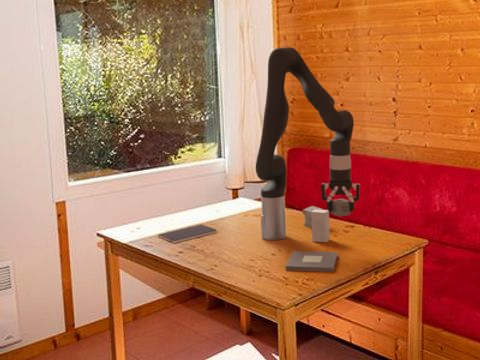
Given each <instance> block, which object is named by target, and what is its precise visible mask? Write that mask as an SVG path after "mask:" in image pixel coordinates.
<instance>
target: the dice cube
mask: <svg viewBox="0 0 480 360" xmlns="http://www.w3.org/2000/svg"><path fill="white" fill-rule="evenodd" d="M330 214H331V215H333V216H336V217H343V216H345V217H346V216H350V215H351V212H350V200H349V199H345V198H337V199H331V212H330Z"/></svg>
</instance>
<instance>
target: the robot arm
mask: <svg viewBox="0 0 480 360" xmlns="http://www.w3.org/2000/svg"><path fill="white" fill-rule="evenodd" d="M287 73H289V74H291V75H292V76H294V77H295V79H297V80H298V82H299V83H300V85H301V87H302V88H301V89H302V90H303V94H304V95H305V98H306V99H307V101H308V103H310V104H311V105H312V107H313V108H314V109H315V110H316V111H317V112H318V115H319V117H320V118H321V120H322V123H323V124H324V126H325V127H327V129H328V130H330V132H334V137H332V138H331V140H330V141H329V142H330V143H329V152H330V155H329V183H325V182H322V183H321V185H320V187H321V188H320V192H321V200H322V201H325V202H326V210H329V213H331V200H333V198H334V196H339V195H341V196H345V195H346V197H347V198H348V200H349V201H350V213H353V211H354V210H355V202H359V200H360V194H361V193H360V192H361V191H360V190H361V184H360V183H359V182H358V183H353V182H352V158H351V140H352V136H353V131H354V126H355V125H354V118H353V117H354V116H353V115H352V113H351V112H350V111H349V110H345V109H342V110H337V109H336V108H335V102H336V101H335V99H334V98H333V97H332V95H331V94H330V93H329V92H328V91H327V90H326V89H325V88H324V87H323V85H322V84H321V83H320V82H319V80H318V79H317V78H316V77H315V75H314V74H313V72H312V71H311V69H310V68H309V67H308V64H307V63H306V61H305V60H304V59H303V57H302V55H301V54H300V53H299V51H298V50H297V49H295V48H293V47H290V46H289V47H287V46H286V47H277V48H274V49H272V50H271V52H270V53H269V56H268V62H267V87H266V95H265V97H266V98H265V106H264V112H263V122H262V129H261V130H262V131H261V137H260V142H259V148H258V152H257V157H256V161H255V173H256V176H257V177H258V179H260V181H267V182H266V184H265V185H263V187H262V188H261V190H260V197H261V215H260V225H261V239H262V240H267V241H279V240H283V239H286V237H287V231H286V228H287V227H286V205H285V204H286V201H285V190H286V187H287V165H286V162H285V159H284V157H283V156H282V155H279V154H275V151H276V148H277V145H278V143H279V141H280V139H281V138H282V136H283V135H284V133H285V131H286V128H287V126H288V122H289V113H290V105H289V102H288V98H287V95H286V91H285V82H286V75H287ZM328 188H329V189H330V191H331V192H330V193H329V195H328V196H327V194H326V190H327V189H328ZM352 188H353V189H354V191H355V196H353V194H352V192H351V189H352Z"/></svg>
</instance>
